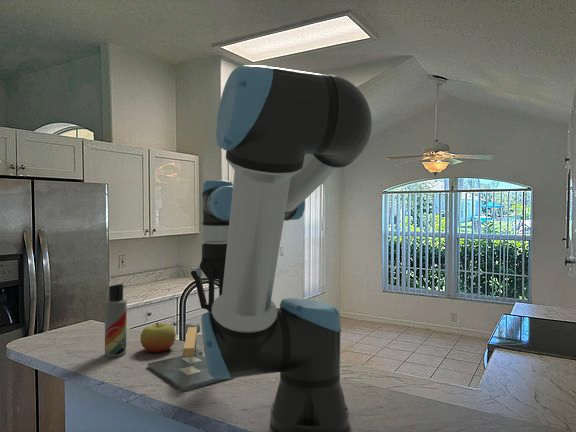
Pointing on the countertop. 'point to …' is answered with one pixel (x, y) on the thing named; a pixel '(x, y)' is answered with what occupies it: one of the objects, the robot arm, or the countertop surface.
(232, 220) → the robot arm
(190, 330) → the cable arm
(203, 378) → the plate
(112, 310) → the lotion bottle
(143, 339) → the apple
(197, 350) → the post
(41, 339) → the countertop surface
